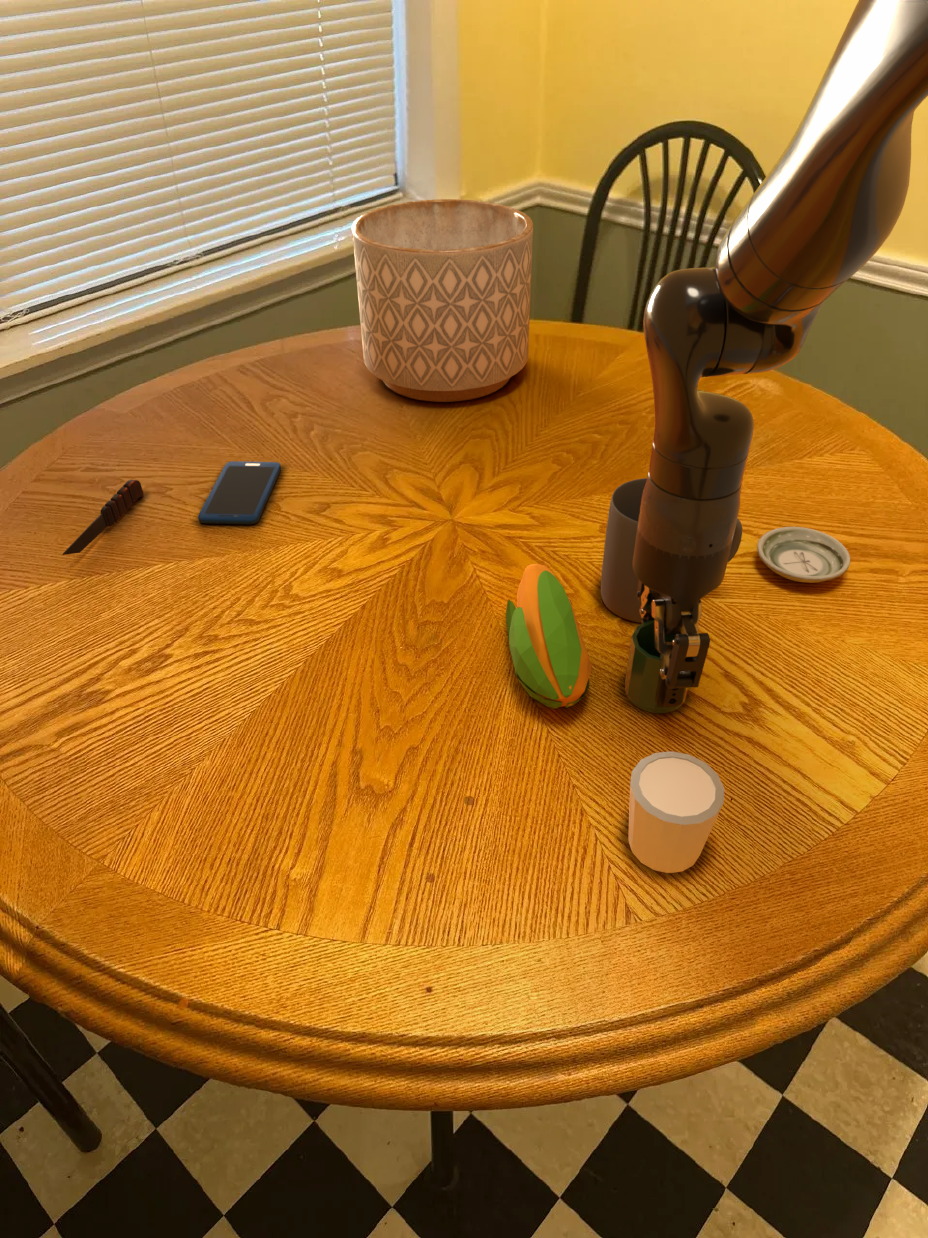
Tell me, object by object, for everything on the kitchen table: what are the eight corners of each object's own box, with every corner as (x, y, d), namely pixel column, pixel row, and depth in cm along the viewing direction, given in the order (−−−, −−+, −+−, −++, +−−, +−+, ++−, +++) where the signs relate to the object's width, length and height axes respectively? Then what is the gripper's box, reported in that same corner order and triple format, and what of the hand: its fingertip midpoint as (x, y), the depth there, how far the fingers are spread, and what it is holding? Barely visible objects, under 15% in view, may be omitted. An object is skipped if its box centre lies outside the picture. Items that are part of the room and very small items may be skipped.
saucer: (736, 553, 97) (740, 536, 96) (807, 536, 100) (812, 518, 98) (788, 603, 90) (793, 585, 89) (863, 583, 93) (870, 565, 91)
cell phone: (282, 466, 113) (281, 461, 113) (257, 525, 103) (256, 520, 102) (227, 465, 114) (226, 460, 113) (197, 524, 103) (195, 518, 103)
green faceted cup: (692, 712, 79) (704, 659, 74) (631, 715, 78) (639, 662, 74) (677, 670, 83) (687, 618, 79) (619, 672, 83) (627, 621, 79)
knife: (73, 574, 96) (64, 552, 94) (65, 573, 96) (57, 551, 94) (145, 495, 109) (139, 474, 107) (138, 494, 109) (132, 473, 107)
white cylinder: (681, 798, 71) (694, 740, 67) (725, 865, 66) (743, 809, 62) (605, 820, 70) (614, 763, 65) (645, 891, 65) (657, 834, 60)
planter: (547, 400, 128) (555, 242, 113) (377, 418, 124) (363, 258, 109) (504, 335, 147) (507, 193, 132) (356, 349, 143) (342, 205, 128)
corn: (523, 667, 72) (497, 533, 87) (514, 730, 77) (491, 592, 92) (610, 666, 73) (569, 533, 88) (596, 728, 78) (559, 591, 93)
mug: (605, 625, 88) (617, 528, 80) (594, 572, 95) (604, 477, 87) (738, 624, 88) (763, 526, 80) (717, 570, 95) (738, 475, 87)
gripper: (760, 578, 63) (720, 732, 74) (708, 477, 74) (679, 624, 85) (659, 582, 63) (633, 736, 74) (621, 480, 74) (604, 627, 85)
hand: (658, 675), depth 79 cm, fingers open, 6 cm apart
